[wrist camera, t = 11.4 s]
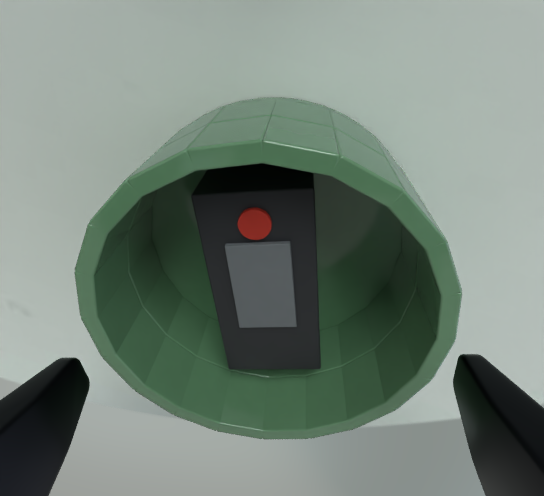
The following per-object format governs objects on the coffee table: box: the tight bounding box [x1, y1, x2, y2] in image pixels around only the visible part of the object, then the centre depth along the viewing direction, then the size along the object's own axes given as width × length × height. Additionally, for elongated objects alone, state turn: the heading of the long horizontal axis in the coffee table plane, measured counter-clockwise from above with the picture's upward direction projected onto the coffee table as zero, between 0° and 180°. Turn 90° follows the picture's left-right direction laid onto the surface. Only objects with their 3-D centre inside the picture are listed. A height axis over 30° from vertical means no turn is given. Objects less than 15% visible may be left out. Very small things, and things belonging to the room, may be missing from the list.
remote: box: [191, 163, 321, 369], centre depth 13 cm, size 7×3×3 cm, turn 5°
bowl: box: [75, 97, 462, 439], centre depth 12 cm, size 10×10×5 cm
